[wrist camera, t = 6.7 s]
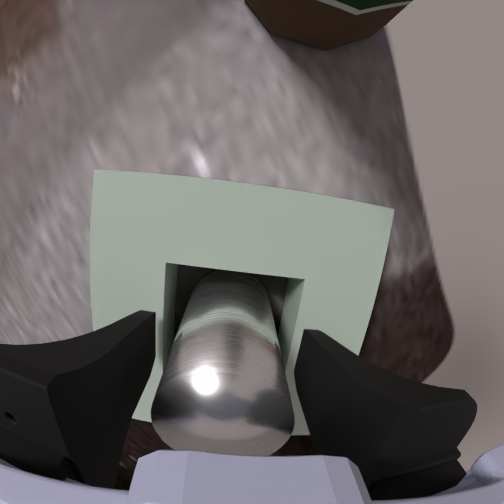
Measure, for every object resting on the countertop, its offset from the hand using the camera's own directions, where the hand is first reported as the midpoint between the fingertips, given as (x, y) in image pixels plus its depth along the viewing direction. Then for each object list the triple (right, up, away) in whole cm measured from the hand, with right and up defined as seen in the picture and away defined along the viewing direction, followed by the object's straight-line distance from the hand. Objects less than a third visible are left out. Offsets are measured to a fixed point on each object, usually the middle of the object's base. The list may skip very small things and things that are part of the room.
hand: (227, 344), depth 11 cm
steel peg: (0, +1, +4) cm, 4 cm away
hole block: (0, +1, +4) cm, 4 cm away
